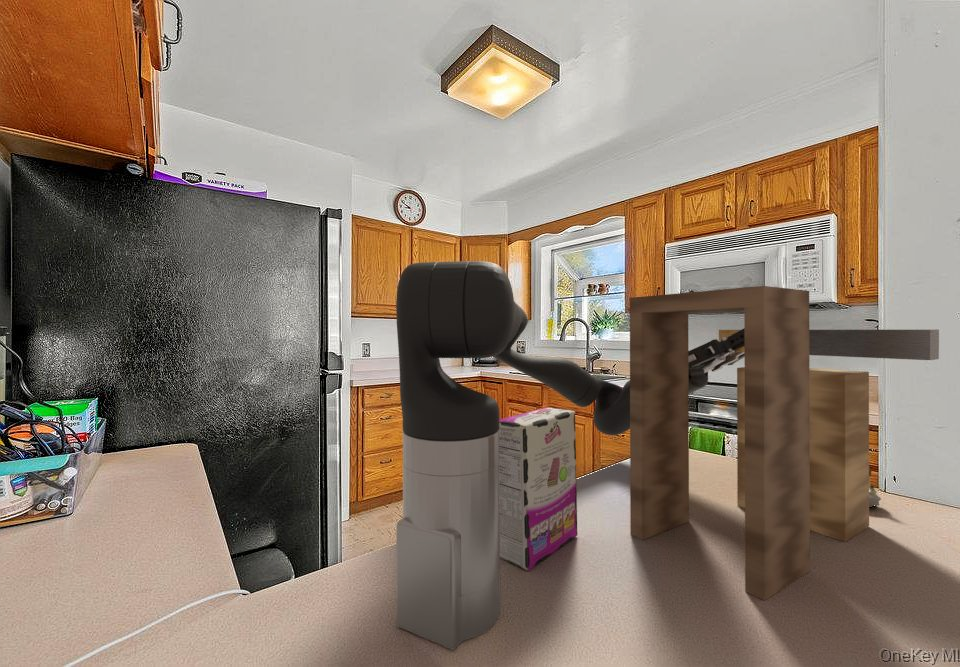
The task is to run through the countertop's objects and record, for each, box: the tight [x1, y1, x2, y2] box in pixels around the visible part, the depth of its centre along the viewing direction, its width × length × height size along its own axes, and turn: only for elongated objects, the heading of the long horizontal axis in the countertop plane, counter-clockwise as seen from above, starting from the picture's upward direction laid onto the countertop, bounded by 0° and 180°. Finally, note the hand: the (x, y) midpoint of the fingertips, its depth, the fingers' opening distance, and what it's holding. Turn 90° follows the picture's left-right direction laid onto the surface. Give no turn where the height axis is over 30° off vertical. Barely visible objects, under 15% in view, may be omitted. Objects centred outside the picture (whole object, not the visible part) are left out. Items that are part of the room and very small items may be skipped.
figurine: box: [869, 469, 882, 507], centre depth 64 cm, size 5×4×6 cm
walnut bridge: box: [629, 285, 811, 601], centre depth 51 cm, size 10×16×31 cm, turn 31°
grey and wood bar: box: [718, 329, 940, 361], centre depth 59 cm, size 24×4×4 cm, turn 31°
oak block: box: [736, 366, 870, 543], centre depth 60 cm, size 13×8×21 cm, turn 31°
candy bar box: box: [499, 407, 579, 571], centre depth 52 cm, size 11×5×16 cm, turn 137°
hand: (760, 331), depth 65 cm, fingers closed on grey and wood bar, 3 cm apart
